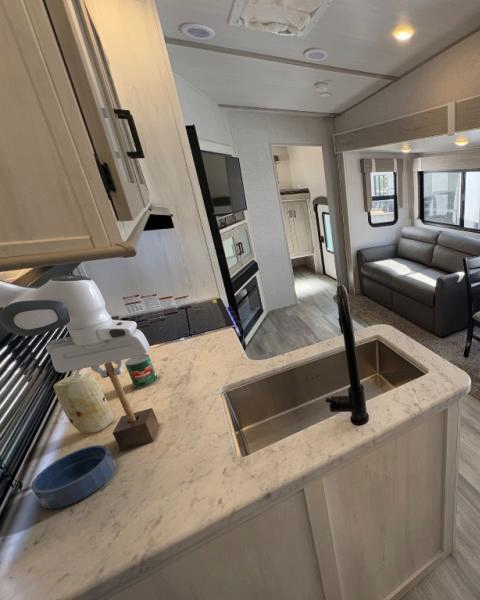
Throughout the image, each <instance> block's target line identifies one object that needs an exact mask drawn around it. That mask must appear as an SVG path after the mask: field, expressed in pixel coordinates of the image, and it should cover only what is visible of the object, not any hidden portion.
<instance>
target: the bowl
mask: <svg viewBox="0 0 480 600" xmlns="http://www.w3.org/2000/svg"><path fill="white" fill-rule="evenodd" d="M116 469H117V463H116V460H115V459H114V457H113V454H112V452H111V451H110V449H109V447H107V446H106V445H100V444H97V445H91V446H86V447H83V448H79V449H77V450H75V451H73V452H70V453H67V454H66V455H64V456H62V457H60V458H59V459H57V460H55V461H54V462H52V463H51V464H49V465H48V466H46V467H45V468H44V469H43V470H42V471H40V472H39V473H38V474H37V475H36V477H35V478H34V479H33V481H32V482H31V485H30V486H31V487H30V489H31V491H32V493H33V494H34V496H35V497H36V498H37V501H38V502H39V503H40V505H41V506H42V507H43V508H44V509H49V510H50V509H51V510H53V509H59V508H64V507H66V506H69V505H72V504H74V503H76V502H78V501H80V500H82V499H84V498H86V497H88V496H89V495H91V494H93V493H95V492H96V491H97V490H99V489H100V488H101V487H102V486H103V485H104V484H106V483H107V482H108V481H109V480H110V478H111V477H112V476H113V475H114V473H115V472H116Z"/></svg>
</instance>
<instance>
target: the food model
mask: <svg viewBox="0 0 480 600" xmlns="http://www.w3.org/2000/svg"><path fill="white" fill-rule="evenodd" d="M53 390H54V393H55V395H56V398H57V401H58V402H59V405H60V407H61V408H62V411H63V412H64V414H65V416H66V417H67V419H68V421H69V423H70V424H71V425H72V426H73V427H74V429H76V430H77V431H78V432H79V433H81V434H88V433H93V434H95V433H98V432H101V431H103V430H104V429H105V428H106V427H108V426H109V425H111V423H113V422H114V421H115V416H114V414H113V413H112V409H111V407H110V404H109V402H108V400H107V398H106V396H105V394H104V391H103V389H102V388H101V386H100V385H99V383H98V382H97V379H96V378H95V377H94V374H93V373H89V372H87V373H86V372H85V373H80V374H74V375H70V376H67V377H64V378H63V379H61V380H59V381H57V382H55V383H54V384H53Z"/></svg>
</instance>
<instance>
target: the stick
mask: <svg viewBox="0 0 480 600" xmlns="http://www.w3.org/2000/svg"><path fill="white" fill-rule="evenodd" d="M103 366H104V368H105V370H107V373H108V375H109V377H108V378H109V379H110V382H111V384H112V386H113V388H114V390H115V392H116V395H117V398H118V400H119V402H120V404H121V406H122V408H123V411H124V413H125V415H127V418H128V420H129V422H130V423H131V422H135V421H137V420H136V418H135V416H134V413H135V412H133V409H132V406H131V405H130V402H129V400H128V397H127V394H126V393H125V390H124V388H123V386H122V383H121V382H120V381H121V380H120V378H119V377H118V375H114V372H113V370H114V368H115V367H114V365H113V362H110V363H105V364H103Z"/></svg>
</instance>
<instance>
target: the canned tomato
mask: <svg viewBox="0 0 480 600" xmlns="http://www.w3.org/2000/svg"><path fill="white" fill-rule="evenodd" d="M124 365H125V368H126V370H127V373H128V375H129V377H130V379H131V382H132V384H133V387H134V388H135V389H143V388H147V387H149V386H151V385H153V384H156V382H157V381H158V380H159V377H158V375H157V372H156V371H155V367H154V365H153V362H152V359H151V356H150V355H149V354H148V353H146V354H145V355H142V356H138V357H133V358H128V359H126V360H125V362H124Z"/></svg>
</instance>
